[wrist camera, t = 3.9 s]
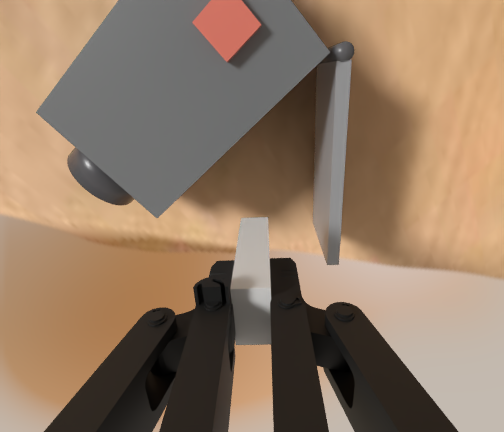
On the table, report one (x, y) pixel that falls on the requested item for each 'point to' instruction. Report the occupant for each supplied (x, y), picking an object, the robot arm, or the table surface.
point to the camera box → (174, 91)
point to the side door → (331, 146)
